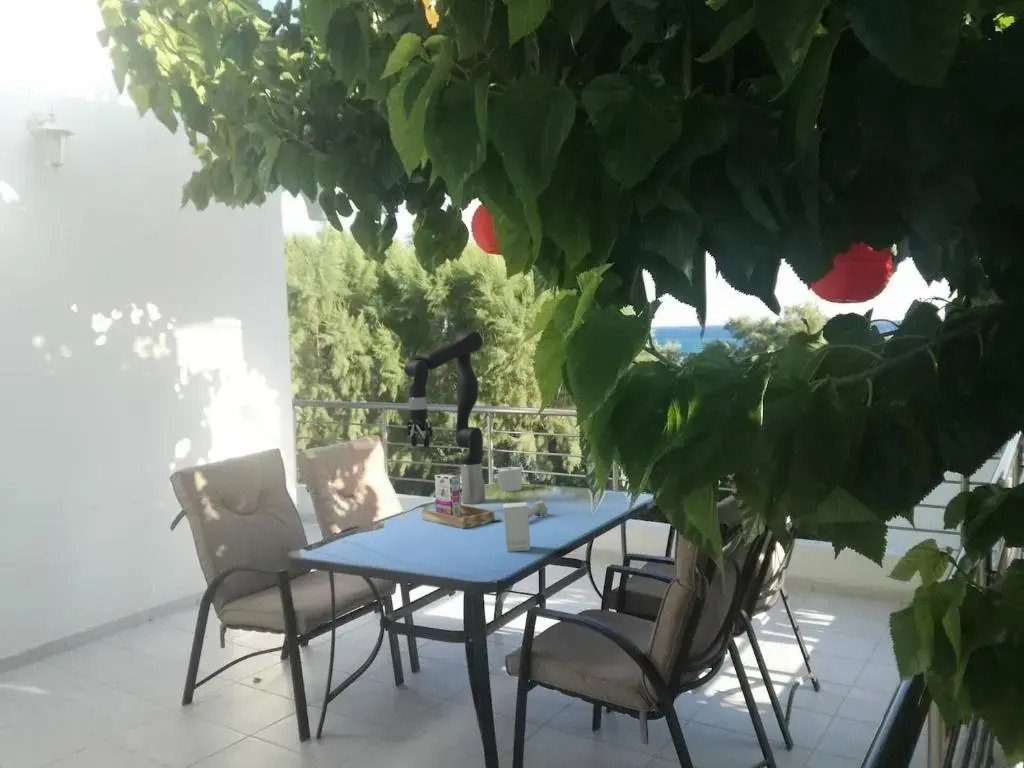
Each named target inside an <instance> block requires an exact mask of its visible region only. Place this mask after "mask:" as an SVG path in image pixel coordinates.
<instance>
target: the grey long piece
mask: <svg viewBox="0 0 1024 768" xmlns="http://www.w3.org/2000/svg"><path fill="white" fill-rule="evenodd" d="M534 503H535V504H533V505H532V506H530V507H527V508H528V519H529V518H531V517H533V516H534V517H535V516H543V517H544V516H545V515H548V507H547V506H546V503H545V501H544V500H537V501H535V502H534ZM545 517H546V516H545Z"/></svg>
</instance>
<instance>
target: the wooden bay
mask: <svg viewBox="0 0 1024 768" xmlns="http://www.w3.org/2000/svg"><path fill="white" fill-rule="evenodd" d="M421 515H422V521H425V520H426V522H429V523H430V522H431V523H435V524H439V525H444V526H447V527H453V528H455V529H460V528H461V529H460V530H466V529H469V527H470V528H473V526H474V527H477V525H478V526H481V525H480V524H482V525H485V524H484V523H486V524H488V523H487V522H490V523H492V522H491V521H494V520H495V519H496V518H495V510H489V509H484V508H481V507H480V508H478V507H475V506H468V505H464V504H461V517H456V516H452V515H447V514H442V513H437V512H436V511H432V510H427V509H421ZM495 521H496V520H495ZM495 521H494V522H495ZM465 528H466V529H465Z"/></svg>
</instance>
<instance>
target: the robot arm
mask: <svg viewBox="0 0 1024 768" xmlns="http://www.w3.org/2000/svg"><path fill="white" fill-rule="evenodd" d="M483 344H484V343H483V337H482V335H481V334H480V332H477V331H474V330H471V331H461V332H459V333H457V334H456V336H455V340H454V343H451V344H449V345H445V346H441V347H439V348H436V349H434V350H432V351H430V352H428V353H425V354H424V355H421V356H417V357H415V358H412V359H409V360H408V361H407V362H406V363H405V364H404V366H403V371H404V373H405V375H406V376H408V377H410V378H413V382H412V383H410V384H409V385H408V398H409V399H408V406H409V407H408V410H409V411H408V412H409V420H408V421H406V425H407V426H406V427H407V428H406V429H407V430H406V431H407V432H406V435H407V436H409V437H410V442H411V447H416V446H418V440H417V434H418V433H419V434H420V435H421V436H422V439H423V448H427V449H428V448H429V447H430V438H432V437H433V429H432V422H430V421H429V422H427V419H429V418H428V417H429V416H428V415H429V413H428V400H427V391H426V390H427V389H426V387H427V383H428V377H429V370H435V369H436V368H438V367H440V366H443V365H445V364H446V363H448V362H450V361H452V360H454V359H456V374H457V375H456V376H457V377H456V378H457V382H456V383H457V384H456V390H457V391H456V393H457V394H456V397H457V400H456V401H457V404H456V406H457V408H456V410H457V411H456V412H457V414H456V427H455V442H456V445H457V446H458V447H459V448H463V449H469V450H468V454H466V455H463V456H461V458H460V470H461V471H460V472H461V473H460V475H461V494H462V503H463V504H467V505H468V504H470V505H475V504H476V505H477V504H481V503H483V502H485V501H486V491H485V490H486V489H485V479H483V464H482V463H483V462H482V460H483V454H484V452H483V451H484V450H483V449H484V448H483V443H484V441H483V440H484V436H483V432H482V430H481V428H480V427H477V426H475V427H474V426H469V419H470V414H471V413H472V410H473V408H474V406H475V405H476V403H477V401H478V398H479V382H478V378H477V376H476V374H475V372H474V369H473V367H472V363H471V353H475V352H477V351H479V350H481V348H482V346H483Z"/></svg>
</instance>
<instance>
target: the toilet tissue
mask: <svg viewBox="0 0 1024 768" xmlns="http://www.w3.org/2000/svg"><path fill="white" fill-rule="evenodd" d="M497 475H498V476H497V477H498V492H500V493H501V492H503V493H504V492H510V493H511V492H518V491H522V490H523V482H522V481H523V480H522V479H523V476H522V475H523V474H522V467H519V466H507V467H501V468H499V469H498V472H497Z"/></svg>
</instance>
